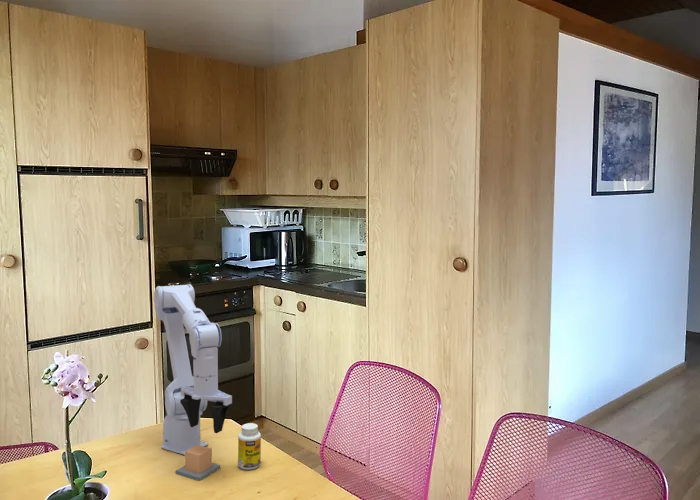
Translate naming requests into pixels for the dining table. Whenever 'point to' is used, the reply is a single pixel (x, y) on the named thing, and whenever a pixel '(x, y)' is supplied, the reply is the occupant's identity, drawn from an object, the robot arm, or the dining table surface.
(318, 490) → the dining table surface
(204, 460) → the block
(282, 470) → the dining table surface
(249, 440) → the supplement bottle
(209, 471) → the mat
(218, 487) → the dining table surface
